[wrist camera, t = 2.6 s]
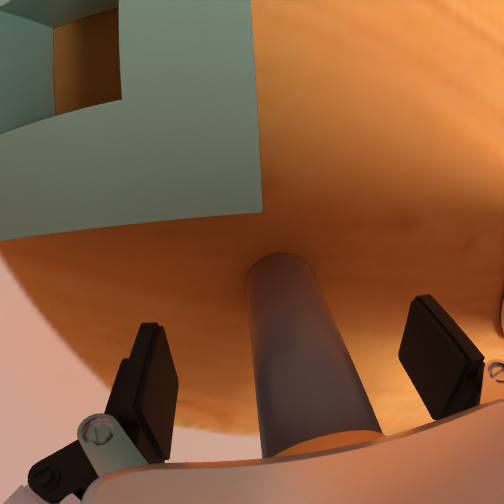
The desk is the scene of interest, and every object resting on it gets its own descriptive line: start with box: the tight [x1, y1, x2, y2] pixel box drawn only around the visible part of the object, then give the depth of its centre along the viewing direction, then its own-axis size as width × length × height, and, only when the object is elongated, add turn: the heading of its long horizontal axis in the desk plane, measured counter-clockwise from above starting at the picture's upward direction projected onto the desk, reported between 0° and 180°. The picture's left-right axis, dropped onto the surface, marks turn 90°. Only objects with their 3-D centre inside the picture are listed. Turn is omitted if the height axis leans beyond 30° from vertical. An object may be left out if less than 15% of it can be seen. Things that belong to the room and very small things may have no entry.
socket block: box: [0, 0, 263, 241], centre depth 8 cm, size 12×12×4 cm
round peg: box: [246, 253, 386, 459], centre depth 10 cm, size 3×3×11 cm
